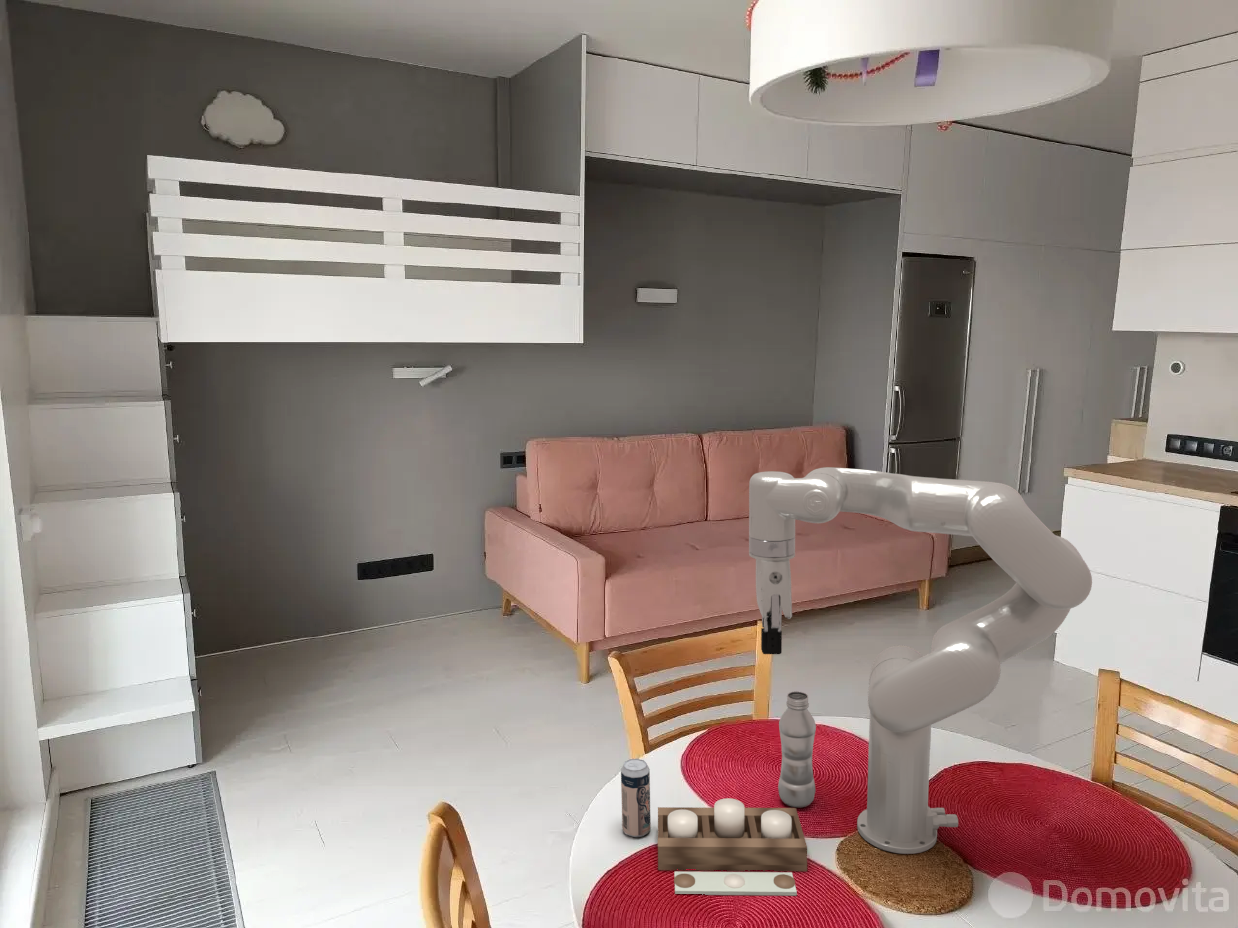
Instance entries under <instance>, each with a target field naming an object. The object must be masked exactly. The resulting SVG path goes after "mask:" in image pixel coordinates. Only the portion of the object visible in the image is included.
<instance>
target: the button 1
mask: <svg viewBox="0 0 1238 928" xmlns="http://www.w3.org/2000/svg"><path fill="white" fill-rule="evenodd" d="M668 838H698V818H697V815H696V814H695V813H694V812H692V811H689V810H683V809H681V810H675V811H673V812H671V813H670V814H669V815H668Z"/></svg>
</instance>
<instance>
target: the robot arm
mask: <svg viewBox="0 0 1238 928" xmlns="http://www.w3.org/2000/svg"><path fill="white" fill-rule="evenodd" d="M748 483H749V486H748V488H749V489H748V509H749V510H748V511H749V512H748V555H749V557H750V558H752V559H755V593H756V604H757V607H758V610H759V613H760V615H761V628H760V629H761V630H760V631H761V633H760V634H761V636H760V638H761V639H760V640H761V641H760V643H761V644H760V645H761V646H760V647H761V649H760V650H761V653H762V655H781V654H782V649H783V647H782V646H783V645H782V642H783V641H782V638H783V634H782V632H783V631H782V618H783V616H782V613H783V615H784V617H785V618H786V619H788V620H790V619H791V618H792V617H793V609H792V608H793V604H792V573H791V571H792V570H791V562H790V560H792V559H794V558H795V557H796V520H797V521H802V522H804V523H805V522H806V523H811V524H824V523H827V522H829V521H832V520H833V519H834V518H836V517H837V515H838V514H839V513H840V512H842V513H843V512H844V513H857V514H865V515H871V516H874V517H877V518H878V517H879V518H882V519H884V520H888V521H889V522H891V523H892V524H894V525H896V526H897V527H900V528H902V529H904V530H907V531H911V532H919V533H933V534H944V535H954V536H956V535H957V536H963V537H964V536H965V537H972V538H973V539H974V540H975V541H976V543H977V544H978V545H979V546H980V547H981V549H983V551H984V552H985V553H986V554H987V555H988V556H989V557H990V558H991V559H992V561H994V562H995V563H996V565H998V567H1000V568H1001V569H1002V570H1003V571H1004V572H1005V573H1006V574H1008V576H1009V577H1010V578H1011V579H1012V580H1013V581H1014V582H1015V584H1013V586H1012V587H1011V588H1010V589H1009V590H1007V592H1005V593H1004V594H1003V595H1001V596H999V597H998V598H996V599H994V600H993V601H991V602H989V603H988V604H986V605H983V606H982V607H979V608H978V609H975V610H973V611H971V612H969V613H967V614H965V615H963V616H961V617H958V618H957V619H954V620H952V621H950V622H948V623H945V624H944V625H942V626H941V627H940V628H938V629H937V630H936V632H935V633H934V635H933V637H932V641H931V645H930V646H931V647H930V651H931V652H929V653H927V654H925V655H923V654H922V653H921V652H919V651H918V650H916V649H915V648H913V647H911V646H907V645H900V644H898V645H892V646H889V647H887V648H885V649H883V650H882V651H880V652H879V654H877V656H876V657H875V658H874V660H873V663H872V664H871V668H870V672H869V673H870V674H869V679H868V691H867V706H868V709H869V730H868V732H869V733H868V760H867V762H868V764H867V795H866V796H867V799H866V800H867V802H866V806H867V807H866V809H863V810H862V812H860V813H859V815H858V817H857V820H856V821H857V822H856V829H857V831H858V833H859V835H860V836H861V837H862V838H863V839H864V841H865V842H866V841H867V842H868V843H870V845H872V846H874V847H876V848H878V849H880V850H883V851H886V852H889V853H895V854H900V855H901V854H903V855H909V854H910V855H911V854H919V853H924V852H926V851H928V850H929V849H932V848H933V847H934V846H935V845H936V843H937V839H938V838H937V837H938V829H939V827H946V828H958V827H959V818H958V816H957V814H955V813H954V814H952V813H951V814H946V810H945V808H944V807H930V806H929V788H930V787H929V785H930V784H929V782H930V755H931V741H932V725H934V724H936V723H939V722H941V721H944V720H946V719H947V718H950V717H952V716H955V715H956V714H959V713H961V712H963V711H965V710H967V709H970V708H972V707H973V706H975V705H977V704H980V703H981V702H983V701H984V700H985V699H986V698H987V697H989V696H990V695H991V694H993V692H994V690H995V689H996V688H997V686H998V684H999V682H1000V678H1001V670H1002V669H1001V668H1002V667H1001V665H1002V664H1003V663H1005V662H1007V661H1009V660H1011V659H1013V658H1015V657H1016V656H1018V655H1020V654H1022V653H1024V652H1026V651H1028V650H1029V649H1031V648H1033V647H1035V646H1037V645H1038V644H1040V643H1043V641H1046V640H1047V639H1048V638H1050V637H1051V636H1052V635H1053V634H1054V633H1055V632H1056V631H1057V630H1058V629H1059V628H1060V627H1061V625H1062V624H1063V622H1065V620H1066V618H1067V616H1068V614H1069V613H1070V611H1071V609H1073V608H1075V607H1079V606H1080V605H1082V603H1084V602H1085V600H1086V599H1087V598H1088V596H1089V595H1090V593H1091V590H1092V584H1093V577H1092V576H1093V575H1092V573H1091V570H1090V568H1089V566H1088V565H1087V563H1086V562H1085V560H1084V559H1083V557H1082V555H1081V554H1080V552H1079V550H1078V549H1077V548H1076V546H1075V545H1074V544H1073V543H1071V541H1069V540H1068V539H1066V538H1064V537H1062V536H1060V535H1056V534H1055V533H1053V531H1052V530H1051V529H1049V528H1048V527H1047V526H1046V525H1045V524H1044V522H1042V521H1041V519H1040V518H1039V517H1037V515H1036V514H1035V513H1034V512H1033V511H1032V510H1031V508H1030V507H1029V506H1028V505H1027V503H1026V502H1025V500H1024V499H1023V496H1022V495H1021V494H1020V493H1019V492H1018V490H1016V489H1015V488H1013V486H1010V485H1008V484H1007V483H1006V484H1005V483H1001V482H994V481H987V480H986V481H983V480H970V479H954V478H953V479H952V478H938V477H927V476H925V477H924V476H914V475H908V474H901V473H890V472H885V471H880V470H879V471H878V470H872V469H859V468H846V467H827V466H826V467H819V468H815V469H813V470H811V471H810V472H809V473H807V474H806V475H805V476H804V477H797V478H796V477H794V476H793V475H792V474H790V473H788V472H784V471H772V470H771V471H769V470H768V471H760V472H755V473H754V474H752V476H751V477H750V479H749V482H748Z"/></svg>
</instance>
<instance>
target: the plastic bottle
mask: <svg viewBox="0 0 1238 928" xmlns="http://www.w3.org/2000/svg"><path fill="white" fill-rule="evenodd" d="M809 705H810V703H809V695H808V693H806V692H803V691H797V690H796V691H791V692H789V693H787V695H786V707H787V708H786V709H785V711H784V712H783V713H782V715H781V716H780V719H779V722H778V728H779V729H778V730H779V736H780V743H781V744H780V745H781V767H780V774H779V779H778V785H777V789H778V794H779V798H780V800H781V801H782V802H783V804H785V805H786V806H789V807H790V808H796V809H797V808H805V807H808V806H810V805H811V804H812V802H813V801H814V799H815V796H816V795H815V794H816V783H815V778H814V771H813V770H814V769H813V754H814V752H813V751H814V750H813V749H814V742H815V736H816V729H817V728H816V727H817V724H816V721H815V718H814V717H813V714H811V712H810V711H809V710H808V708H809V707H810V706H809Z"/></svg>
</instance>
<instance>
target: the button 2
mask: <svg viewBox="0 0 1238 928" xmlns="http://www.w3.org/2000/svg"><path fill="white" fill-rule="evenodd" d="M791 830H792V819H791V816H790V815H789V814H787V813H786V812H783V811H780V810H769V811H766V812H764V813H763V814H762V816H761V838H769V839H791Z"/></svg>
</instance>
